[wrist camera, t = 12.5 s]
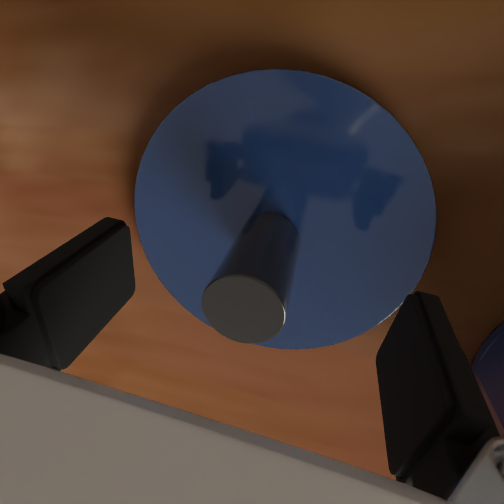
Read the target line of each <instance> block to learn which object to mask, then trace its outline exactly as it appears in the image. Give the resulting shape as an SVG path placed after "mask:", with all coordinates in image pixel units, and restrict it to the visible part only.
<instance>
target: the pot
mask: <svg viewBox="0 0 504 504" xmlns="http://www.w3.org/2000/svg"><path fill="white" fill-rule="evenodd" d="M471 369H472V372H473V374H474V376H475V378H476V381H477V383H478V385H479V388H480V390H481V392H482V395H483V397H484V399H485V401H486V404H487V406H488V408H489V411H490V413H491V415H492V417H493V420H494V422H495V424H496V427H497V429H498V431H499V434H500V436H503V437H504V322H503V323H502V324H501V325H500V326H499V327H498V328H496V329H495V330H494V331H493V332H492V333H491V335H490V336H489V337H488V338H487V339H486V341H485V342H484V343H483V344H482V346H481V348H480V349H479V351H478V353H477V354H476V356H475V359H474V362H473V364H472V368H471Z"/></svg>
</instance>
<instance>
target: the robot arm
mask: <svg viewBox="0 0 504 504" xmlns="http://www.w3.org/2000/svg"><path fill="white" fill-rule="evenodd" d="M3 286H4V289H5V291H4V292H2V293H1V294H0V504H504V437H503V436H500V434H499V431H498V429H497V427H496V424H495V422H494V420H493V417H492V415H491V413H490V411H489V408H488V406H487V404H486V401H485V399H484V397H483V395H482V392H481V390H480V388H479V385H478V383H477V381H476V378H475V376H474V374H473V372H472V369H471V367H470V365H469V362H468V360H467V358H466V356H465V353H464V351H463V350H462V348H461V347H460V345H459V343H458V340H457V338H456V336H455V333H454V331H453V329H452V326H451V324H450V322H449V319H448V317H447V315H446V312H445V310H444V308H443V305H442V303H441V301H440V299H439V297H438V296H436V295H432V294H428V293H424V292H420V291H416V292H415V293H414V294H413V295H412V294H408V295H407V296H406V298H405V300H404V302H403V304H402V306H401V308H400V310H399V312H398V314H397V315H396V317H395V319H394V321H393V323H392V325H391V327H390V329H389V331H388V333H387V335H386V337H385V339H384V341H383V343H382V345H381V347H380V349H379V350H378V353H377V357H376V367H377V375H378V383H379V392H380V400H381V408H382V416H383V424H384V432H385V440H386V449H387V457H388V465H389V470H390V473H391V474H392V475H396V480H393V479H390V478H387V477H384V476H381V475H378V474H375V473H372V472H369V471H367V470H364V469H361V468H358V467H355V466H352V465H349V464H346V463H343V462H340V461H337V460H335V459H331V458H328V457H325V456H322V455H319V454H316V453H313V452H310V451H307V450H304V449H301V448H298V447H295V446H292V445H288V444H285V443H282V442H279V441H276V440H273V439H270V438H267V437H264V436H261V435H258V434H255V433H252V432H249V431H246V430H242V429H239V428H236V427H233V426H230V425H227V424H224V423H221V422H218V421H214V420H211V419H208V418H205V417H202V416H199V415H196V414H193V413H190V412H186V411H183V410H180V409H177V408H174V407H171V406H168V405H165V404H161V403H158V402H155V401H152V400H149V399H146V398H143V397H139V396H136V395H133V394H130V393H127V392H124V391H121V390H117V389H114V388H111V387H108V386H105V385H101V384H98V383H95V382H92V381H89V380H85V379H82V378H79V377H76V376H73V375H70V374H66V373H63V372H60V370H61V369H65V368H67V367H68V366H69V365H70V364H71V363H72V362H73V361H74V360H75V359H76V358H77V357H78V355H79V354H80V353H81V352H82V351H83V350H84V349H85V348H86V347H87V345H88V344H89V343H90V342H91V341H92V340H93V339H94V338H95V337H96V335H97V334H98V333H99V332H100V331H101V330H102V329H103V328H104V327H105V326H106V324H107V323H108V322H109V321H110V320H111V319H112V318H113V317H114V316H115V314H116V313H117V312H118V311H119V310H120V309H121V308H122V307H123V306H124V305H125V303H126V302H127V301H128V300H129V299H130V298H131V297H132V295H133V294H134V291H135V278H134V267H133V257H132V247H131V236H130V229H129V227H128V226H126V223H125V222H124V221H122V220H118V219H114V218H110V217H106V218H104V219H102V220H100V221H99V222H97V223H96V224H94V225H93V226H91V227H90V228H88V229H86V230H85V231H83V232H82V233H80V234H79V235H77V236H76V237H74V238H72V239H71V240H69V241H68V242H66V243H65V244H63V245H62V246H60V247H58V248H57V249H55V250H54V251H52V252H51V253H49V254H48V255H46V256H45V257H43V258H41V259H40V260H38V261H37V262H35V263H34V264H32V265H31V266H29V267H27V268H26V269H24V270H23V271H21V272H20V273H18V274H17V275H15V276H13V277H12V278H10V279H9V280H7V281H6V282H4V283H3Z"/></svg>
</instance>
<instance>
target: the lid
mask: <svg viewBox="0 0 504 504" xmlns="http://www.w3.org/2000/svg"><path fill="white" fill-rule="evenodd" d="M134 210H135V217H136V225H137V229H138V233H139V237H140V241H141V244H142V247H143V249H144V252H145V254H146V257H147V259H148V261H149V263H150V265H151V266H152V268H153V270H154V272H155V273H156V275H157V276H158V278H159V279H160V281H161V282H162V284H163V285H164V286H165V288H166V289H167V290H168V291H169V292H170V294H171V295H172V296H173V297H174V298H175V299H176V300H177V301H178V302H179V303H180V304H181V305H182V306H183V307H184V308H185V309H187V310H188V311H189V312H190V313H192V314H193V315H194V316H195V317H197V318H198V319H200V320H201V321H203V322H204V323H206V324H207V325H209V326H210V327H212V328H214V329H215V330H216V331H217V332H219V333H220V334H222V335H223V336H225V337H227V338H229V339H231V340H234V341H237V342H241V343H247V344H255V345H260V346H264V347H271V348H279V349H309V348H317V347H323V346H329V345H333V344H336V343H340V342H343V341H346V340H349V339H351V338H354V337H356V336H358V335H361V334H363V333H364V332H366V331H368V330H370V329H372V328H374V327H375V326H377V325H378V324H380V323H381V322H382V321H384V320H385V319H386V318H388V317H389V316H390V315H391V314H392V313H394V312H395V311H396V310H397V309H398V308H399V307H400V306H401V305H402V304H403V302H404V300H405V298H406V296H407V295H408V294H411V293H412V292H413V290H414V289H415V287H416V285H417V284H418V282H419V280H420V279H421V277H422V275H423V273H424V271H425V269H426V266H427V264H428V261H429V259H430V256H431V252H432V248H433V244H434V240H435V233H436V221H437V213H436V201H435V193H434V189H433V185H432V181H431V177H430V174H429V171H428V169H427V167H426V164H425V162H424V160H423V157H422V155H421V153H420V151H419V150H418V148H417V146H416V145H415V143H414V142H413V140H412V139H411V137H410V135H409V134H408V132H407V131H406V130H405V129H404V128H403V127H402V126H401V125H400V123H399V122H398V121H397V120H396V119H395V118H394V117H393V115H392V114H390V113H389V112H388V111H387V110H386V109H384V108H383V107H382V106H381V105H380V104H378V103H377V102H376V101H375V100H373V99H372V98H371V97H369V96H367V95H365V94H364V93H362V92H360V91H359V90H357V89H355V88H354V87H352V86H350V85H348V84H345V83H343V82H340V81H338V80H335V79H333V78H330V77H328V76H324V75H320V74H316V73H312V72H307V71H303V70H292V69H279V68H274V69H261V70H251V71H247V72H242V73H238V74H234V75H230V76H227V77H224V78H222V79H220V80H217V81H215V82H212V83H210V84H207V85H206V86H204V87H202V88H201V89H199V90H197V91H196V92H194V93H193V94H191V95H189V96H188V97H187V98H186V99H184V100H183V101H182V102H181V103H180V104H178V105H177V106H176V107H175V108H174V109H173V110H172V111H171V112H170V113H169V114H168V115H167V116H166V118H165V119H164V120H163V121H162V122H161V123H160V124H159V126H158V128H157V129H156V131H155V132H154V134H153V136H152V137H151V139H150V140H149V142H148V145H147V147H146V149H145V151H144V154H143V156H142V158H141V162H140V166H139V169H138V173H137V177H136V185H135V192H134Z"/></svg>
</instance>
